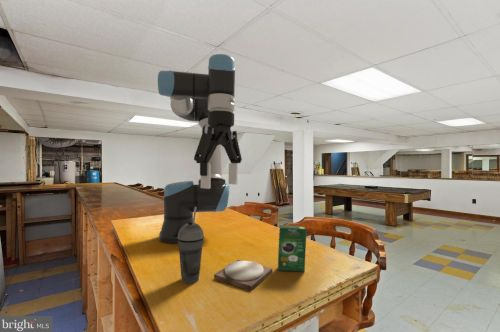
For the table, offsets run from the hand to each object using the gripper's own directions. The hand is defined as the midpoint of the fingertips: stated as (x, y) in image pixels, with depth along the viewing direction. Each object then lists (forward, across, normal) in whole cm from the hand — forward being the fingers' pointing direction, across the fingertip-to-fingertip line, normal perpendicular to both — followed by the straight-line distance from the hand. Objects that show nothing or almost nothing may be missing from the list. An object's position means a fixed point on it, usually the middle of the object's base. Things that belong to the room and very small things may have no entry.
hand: (220, 186), depth 72 cm
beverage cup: (+25, -7, +4) cm, 27 cm away
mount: (+25, +2, -7) cm, 26 cm away
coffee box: (+26, +13, -18) cm, 33 cm away
